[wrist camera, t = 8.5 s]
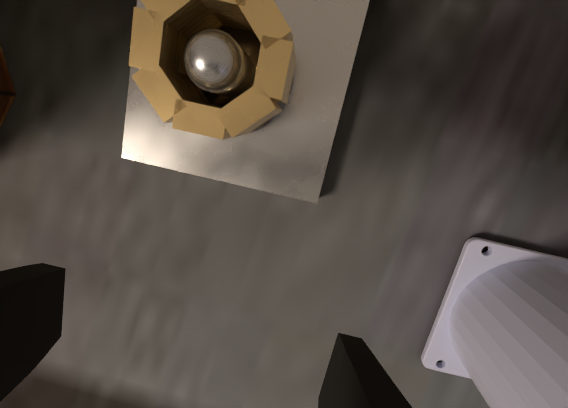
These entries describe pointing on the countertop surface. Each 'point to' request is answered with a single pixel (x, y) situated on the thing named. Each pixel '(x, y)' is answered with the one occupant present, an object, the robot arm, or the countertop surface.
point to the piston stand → (239, 78)
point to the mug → (5, 88)
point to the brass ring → (176, 82)
